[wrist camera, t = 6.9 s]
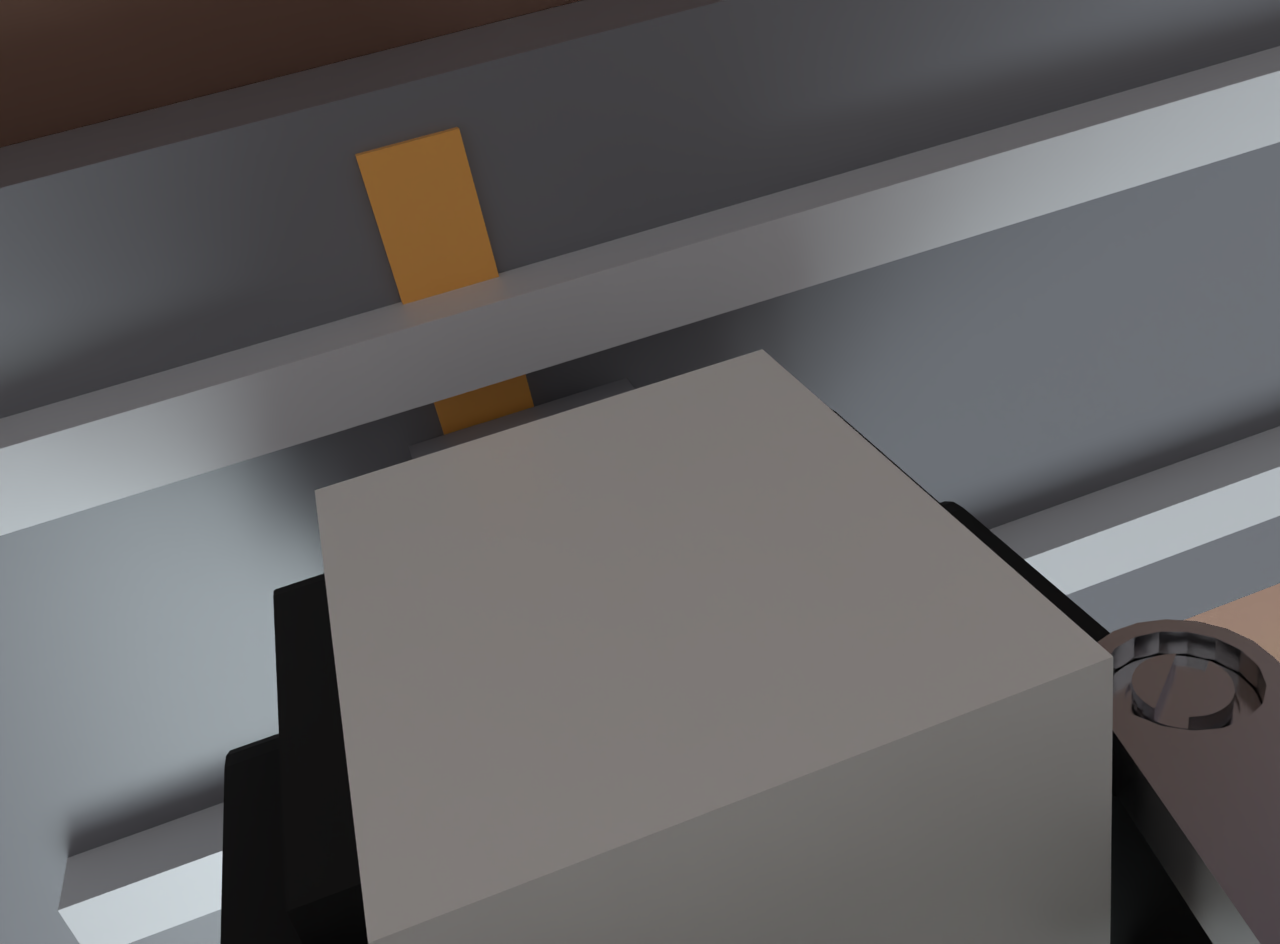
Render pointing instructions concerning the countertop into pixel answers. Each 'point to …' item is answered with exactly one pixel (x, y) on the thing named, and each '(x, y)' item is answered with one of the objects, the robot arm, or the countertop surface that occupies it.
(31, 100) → the countertop surface
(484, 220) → the fader console
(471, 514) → the cap
